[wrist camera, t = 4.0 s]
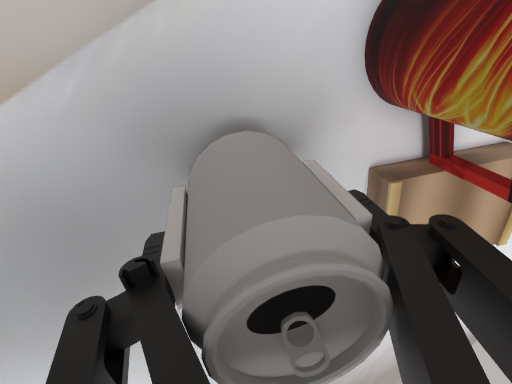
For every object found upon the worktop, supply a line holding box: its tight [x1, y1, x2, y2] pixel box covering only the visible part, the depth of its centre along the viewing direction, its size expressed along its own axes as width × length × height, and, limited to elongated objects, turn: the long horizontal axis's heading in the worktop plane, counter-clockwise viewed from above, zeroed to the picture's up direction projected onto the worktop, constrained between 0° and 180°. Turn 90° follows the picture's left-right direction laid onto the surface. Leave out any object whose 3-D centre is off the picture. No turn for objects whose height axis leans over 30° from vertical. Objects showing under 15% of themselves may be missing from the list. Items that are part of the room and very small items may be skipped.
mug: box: [365, 0, 512, 203], centre depth 16 cm, size 10×14×12 cm
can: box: [182, 131, 394, 384], centre depth 13 cm, size 8×8×12 cm
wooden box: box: [367, 142, 512, 246], centre depth 26 cm, size 14×10×3 cm
